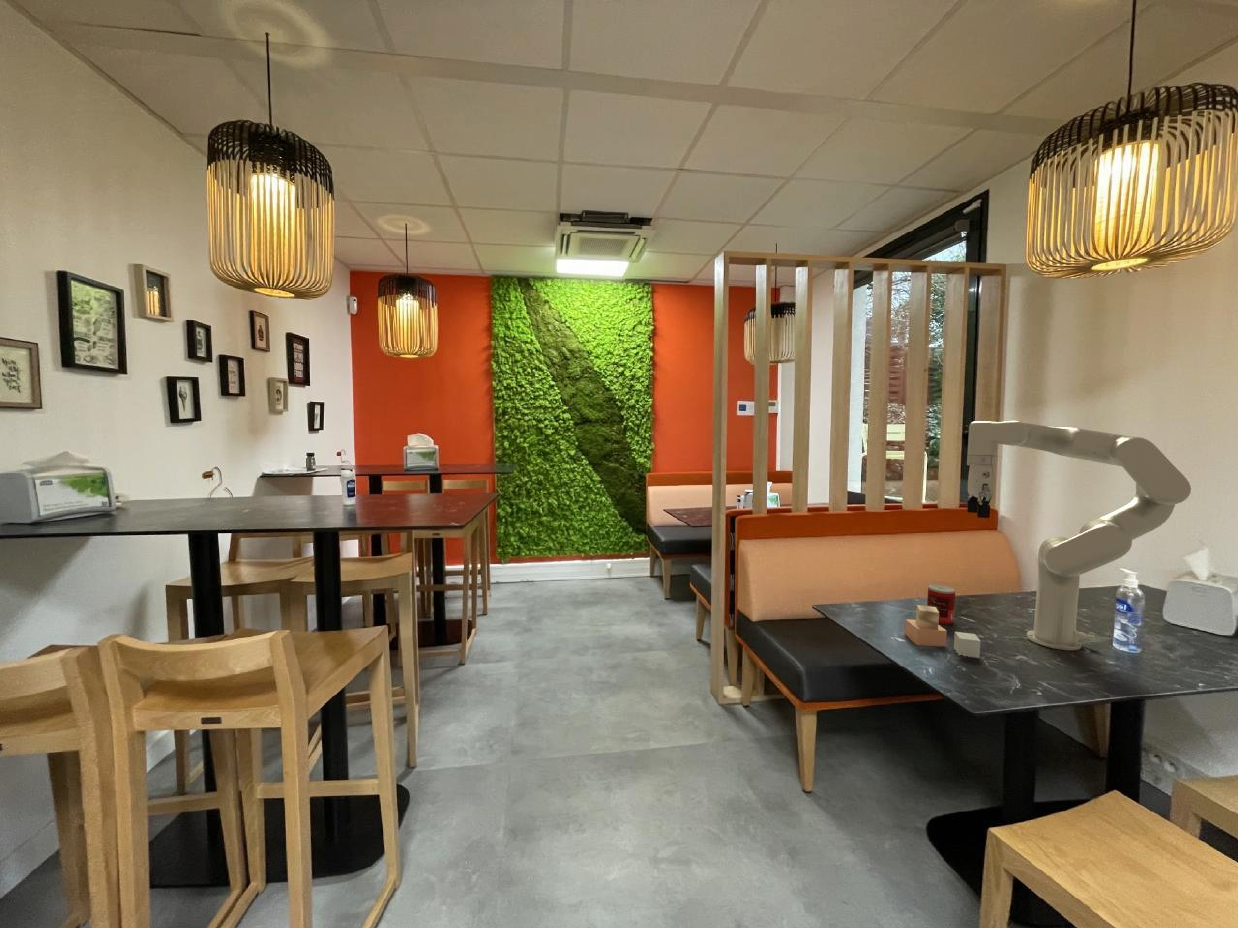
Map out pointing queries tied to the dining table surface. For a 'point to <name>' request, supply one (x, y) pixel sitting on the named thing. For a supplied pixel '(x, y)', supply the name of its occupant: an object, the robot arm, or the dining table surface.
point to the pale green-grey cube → (967, 644)
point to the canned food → (942, 602)
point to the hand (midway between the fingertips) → (978, 515)
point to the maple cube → (927, 617)
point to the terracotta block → (925, 634)
